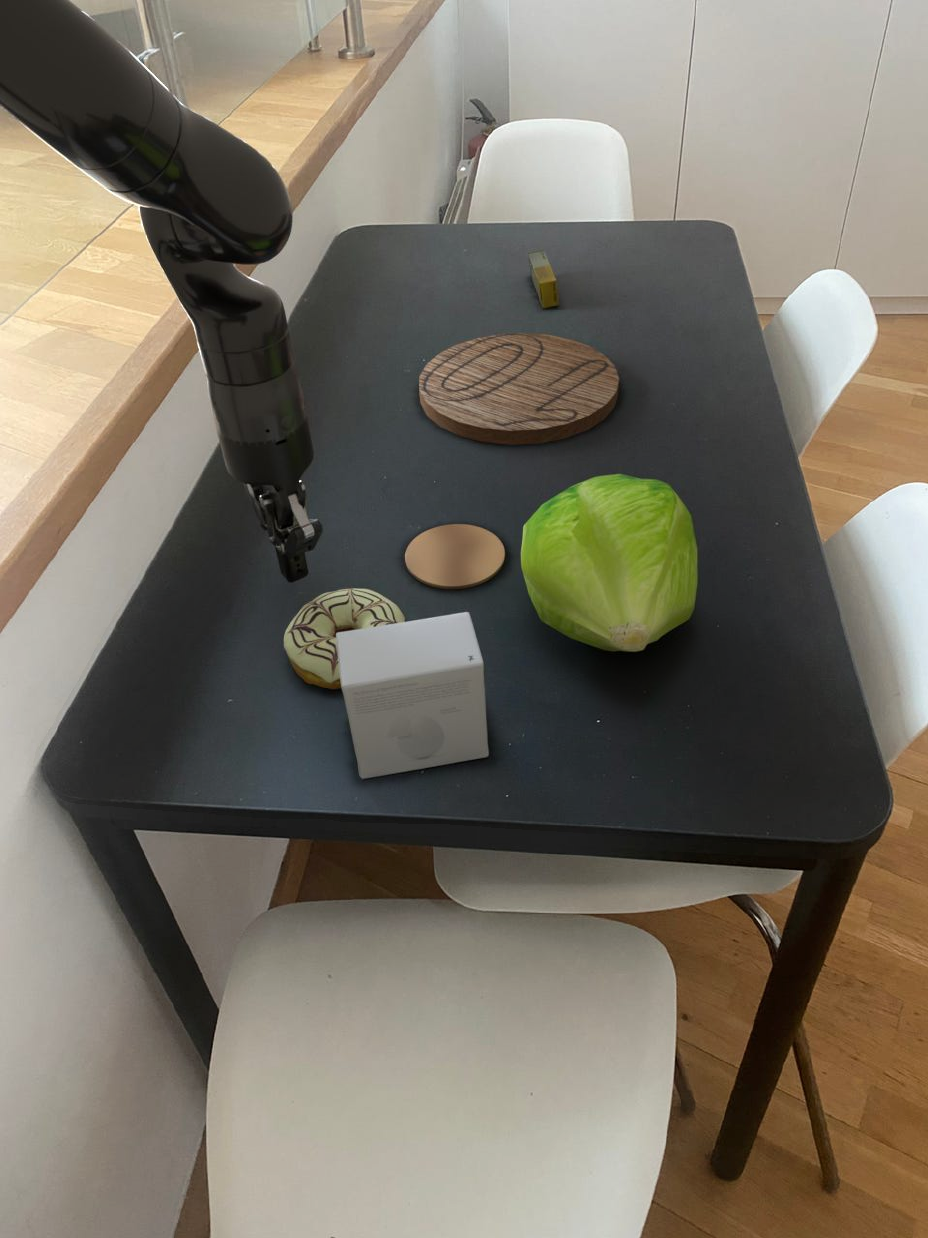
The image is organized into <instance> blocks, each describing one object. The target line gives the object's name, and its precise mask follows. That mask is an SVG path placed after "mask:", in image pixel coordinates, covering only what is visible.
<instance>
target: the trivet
mask: <svg viewBox="0 0 928 1238" xmlns="http://www.w3.org/2000/svg"><path fill="white" fill-rule="evenodd" d="M418 379H419V380H418V383H419V384H418V386H419V387H418V388H419V389H418V392H419V403H420V405H421V407H422V409H423V411H424V413H425V415H426V416H427V417H428V418H429V419H430V420H432V422H434V423H435V424H436V425H437V426H439V427H440V428H442V429H444V430H446V431H448V432H450V433H452V434H454V435H456V436H459V437H462V438H466V439H469V440H473V441H478V442H481V443H487V444H496V445H497V444H498V445H499V444H500V445H508V446H514V445H515V446H517V445H535V444H537V445H538V444H544V443H549V442H555V441H559V440H564V439H568V438H570V437H573V436H576V435H578V434H581V433H583V432H587V431H589V430H590V429H592V428H593V427H595V426H597V425H598V424H599V423H601V422H603V421H604V420H605V419H606V418H607V417H608V416H609V414H610V413H611V412H612V411H613V410H614V408H615V406H616V404H617V400H618V395H619V388H620V377H619V374H618V371H617V368H616V366H615V365H614V363H613V362H612V361H611V360H610V359H609V358H608V357H607V356H606V355H605V354H603V353H602V352H600V351H598V350H597V349H595V348H594V347H591V345H588V344H585V343H582V342H579V341H578V340H577V341H576V340H575V339H571V338H566V337H562V336H557V335H551V334H544V333H543V334H541V333H528V332H520V333H500V334H495V335H494V334H493V335H489V336H482V337H476V338H473V339H471V340H467V341H464V342H460V343H457V344H455V345H453V346H451V347H449V348H447V349H445V350H443V351H440V353H438V354H437V355H436V356H434V358H432V359H430V361H428V362H427V363H426V365H425V366H424V368H423V369H422V371H421V373H420V375H419V378H418Z"/></svg>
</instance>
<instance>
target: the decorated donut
mask: <svg viewBox="0 0 928 1238" xmlns="http://www.w3.org/2000/svg"><path fill="white" fill-rule="evenodd" d="M402 622H406V617H405V616H404V614H403V612H402V611H401V609H400V608H399V606H398V605H397V604H396V603H394V602H392V601H391V600H390V599H388V598H387V597H385V596H384V595H382V594H380V593H379V592H376V591H374V590H371V589H368V588H354V587H353V588H351V587H350V588H345V589H337V590H335V591H327V592H324V593H321V594H320V595H318V596H316V597H315V598H314V599H312V600H311V601H309V602H307V603H306V604H304V605H303V606H302V607H301V608H300V610H298V612H297V614H296V615H295V616H294V617H293V618H292V620H291V621H290V623H289V624H288V625H287V628H286V630H285V631H284V635H283V648H284V651H286V654H287V657H288V660H289V661H290V663H291V666H292V668H293V669H294V672H295V673H296V674H297V676H299V677H300V678H301V679H302V680H303V681H304V682H305V683H306V684H309V685H315V686H317V687H321V688H326V689H330V690H338V689H342V688H341V681H340V672H339V662H338V653H337V644H336V633H338V632H345V631H351V630H357V629H364V628H370V627H376V626H383V625H389V624H395V623H402Z"/></svg>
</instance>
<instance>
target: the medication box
mask: <svg viewBox="0 0 928 1238" xmlns="http://www.w3.org/2000/svg"><path fill="white" fill-rule="evenodd" d="M527 256H528V263H529V272H530V278H531V280H532V283H533V286H534V288H535V292H536V294H537V297H538V299H539V302H540V305H541V307H542V309H546V308H551V307H556V306H559V305H560V301H559V288H558V281H557V278H556V275H555V272H554V270H553V268H552V266H551V263H550V261H549V258H548V256H547V254H546V251H545V250H536V251H532V252H528V255H527Z"/></svg>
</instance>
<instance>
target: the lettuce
mask: <svg viewBox="0 0 928 1238" xmlns="http://www.w3.org/2000/svg"><path fill="white" fill-rule="evenodd" d="M520 566H521V567H520V568H521V571H522V574H523V579H524V582H525V586H526V589H527V593H528V597H529V598H530V600H531V602H532V605H533V607H534V609H535V611H536V613H537V615H538V617H539V620H540V621H541V622H542V623H543V624H546V625H548V626H549V627H551V629H555V631H557V632H559V633H560V634H563V635H564V636H565V637H567V638H569V639H571V640H574V641H577V642H580V643H583V644H586V645H589V646H592V647H594V648H597V649H600V650H602V651H608V652H633V653H635V652H640V651H644V650H645V649H646V646H647V645H648V644H652V643H654V642H657V641H658V640H659V639H660V638H662V637H663V636H664V635H666V634H667V633H669V632H670V631H672V630H674V629H675V628H677V627H678V626H680V625H682V624H684V623H685V622H687V621H688V620H690V618H691V616H692V615H693V612H694V609H695V604H696V597H697V590H698V589H697V588H698V580H699V579H698V546H697V541H696V534H695V530H694V524H693V519H692V514H691V513H690V511H689V509H688V508H687V506H686V505H685V502H684V501H683V500H682V499H681V497H679V495H678V494H677V493H676V491H675V490H674V489H673V488H672V486H671V485H670V484H669V483H667V482H664V481H662V480H660V479H657V478H640V477H639V478H638V477H634V476H631V475H626V474H623V473H616V474H606V475H598V476H594V477H591V478H588V479H586V480H584V481H581V482H579V483H576V484H573V485H572V486H571V485H570V487H568V488H566V489H565V490H563V491H561V492H560V493H558V494H556V495H555V496H553V497H551V498H550V499H549V500H547V501H545V502H544V503H543V504H541V505H540V506H539V508H537V510H536V511H535V512H534V513H533V514H532V515H531V517H530V518H528V520H527V521H526V522H525V523H524V524H523V527H522V539H521V549H520Z"/></svg>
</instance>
